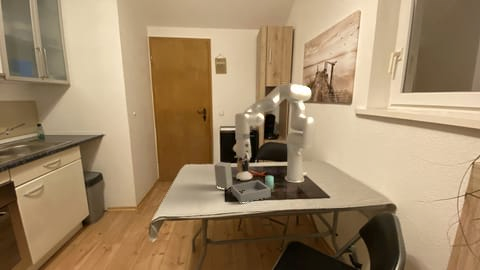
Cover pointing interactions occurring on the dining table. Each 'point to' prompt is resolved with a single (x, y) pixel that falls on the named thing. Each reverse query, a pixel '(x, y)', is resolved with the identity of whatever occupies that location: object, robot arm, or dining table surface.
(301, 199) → the dining table surface
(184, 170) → the dining table surface
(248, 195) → the tote
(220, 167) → the skincare box
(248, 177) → the flower in vase
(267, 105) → the robot arm
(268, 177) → the mint rounded capsule part
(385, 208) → the dining table surface
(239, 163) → the walnut cube
